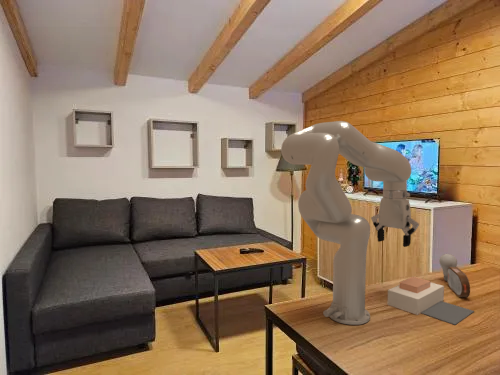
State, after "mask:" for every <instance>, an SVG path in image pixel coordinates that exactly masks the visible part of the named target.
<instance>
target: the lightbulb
mask: <svg viewBox="0 0 500 375" xmlns="http://www.w3.org/2000/svg"><path fill="white" fill-rule="evenodd" d="M438 260H439V261H438V263H439V264H440V267H441V268H442V275H443V280H444V281H445V282H446V283H448V281H447V269H448V268H449V267H458V266H457V265H458V260H457V258H456V256H454V255H453V254H450V253H444V254H442V255H441V256H440V257H439V259H438Z"/></svg>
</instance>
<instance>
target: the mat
mask: <svg viewBox="0 0 500 375" xmlns="http://www.w3.org/2000/svg"><path fill="white" fill-rule="evenodd" d="M474 312H475V310H471V309H469V308H466V307H461V306H459V305H455V304H452V303H449V302H446V301H444V300H443V301H440V302H438V303H436V304H435V305H433V306H431V307H429V308H428V309H426V310H424V311H422V312H421V313H420V314H422V315H425V316H428V317H430V318H433V319H436V320H440V321H442V322H445V323H447V324H451V325H453V326H456V325H457V324H458V325H459V323H461V322H462V321H464V320H465V319H466V318H468V317H469V316H471V315H472V314H474Z"/></svg>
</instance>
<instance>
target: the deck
mask: <svg viewBox="0 0 500 375" xmlns="http://www.w3.org/2000/svg"><path fill="white" fill-rule="evenodd" d="M399 285H400V284H398V285H396V286H394V287H392V288H388V289H387V305H388V306H391V307H393V308H396V309H399V310H402V311H405V312H407V313H410V314H413V315H416V316H418V315H420V314H421V312H422V311H424V310H426V309H428V308H429V307H431V306H433V305H435V304H436V303H438V302H440V301H443V302H444V295H445V294H444V292H445V285H441V284H439V283H435V282H431V283H430V287H429V288H427V289H425V290H423V291H421V292H419V293H414V292H411V291H408V290H404V289H401V288H399Z"/></svg>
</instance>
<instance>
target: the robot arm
mask: <svg viewBox="0 0 500 375" xmlns="http://www.w3.org/2000/svg"><path fill="white" fill-rule="evenodd" d="M280 149H281V150H280V152H281V156H282V158H283V159H284V161H285V162H287V163H289V164H290V165H301V166H302V165H307V166H308V165H309V166H310V168H309V170H308V171H309V172H308V174H307V177H306V180H305V190H304V191H303V192H302V193H301V194H300V195H299V197H298V202H297V204H298V206H297V207H298V211H299V214H300V216H301V217H302V219H303V221H304V222H305V223H306V224H307V226H308V227H309V229H310V230H311V232H313V234H314V235H315V236H316V237H317V238H318V239H320V240H322V241H326V242H330V243H335V244H339V248H338V249H337V251H336V252H335V253H334V256H333V260H332V261H333V262H332V267H333V268H332V270H333V271H332V273H333V275H332V276H333V277H332V283H333V284H332V285H333V286H332V301H331V302H330V306H329V307H328V308H327V309H325V310H324V311H323V312H322V313H323V316H324V317H326V318H330V319H331V320H332V321H335V322H337V323H340V324H345V325H351V326H357V325H358V326H359V325H364V324H367V323H368V322H369V321H370V320H371V314H370V312H369V311H368V310H367V309H366V281H367V280H366V279H367V278H366V277H367V271H366V269H367V267H366V266H367V265H366V264H367V252H368V251H367V250H368V245H369V239H370V236H371V225H370V222H369V221H368V220H367V219H366V218H365V217H363V216H361V215H357V214H354V213H352V211H353V210H352V204H351V201H350V200H349V198H348V197H347V195H346V193H345V192H344V190H343V188H342V187H341V185H340V184H339V182H338V180H337V178H336V170H337V169H336V167H337V163H338V158H339V156H342V157H343V158H344V159H345V160H347V161H348V162H349V163H351V164H352V165H354V166H358V167H362V168H364V174H365V177H366V178H367V179H368V180H370V181H372V182H382V188H383V189H382V198H381V199H380V203H379V208H378V213H377V214H376V215H373V216H371V217H370V219H371V221H372V225H373V226H374V227H375V230H376V232H377V233H376V235H377V236H376V238H377V242H379V243H380V242H383V241H385V229H384V228H385V227H386V228H393V229H399V230H401V231H402V232H403V237H402V246H403V247H404V248H406V247H410V245H411V241H412V240H411V238H412V235H413V234H414V233H415V232H416V231H417V229H418V228H419V227H420V223H419V222H418V221H417V220H415V219H413V218H412V213H411V212H412V211H411V204H410V203H411V202H410V200H409V199H407V198H409V197H411V193H410V192H408V190H407V185H408V184H407V183H408V180H409V179H410V177H411V176H412V166H411V163H410V161H409V160H408V159H407V158H406V156H404V154H402V153H401V152H399V151H398V150H396V149H393V148H391V147H389V146H385V145H383V144H380V143H378V142H373V141H371V140H369V138H367V137H366V136H365V135H364V134H363V133H362V132H360V131H359V129H357V128H356V127H355V126H354V125H352V124H351V123H350V122H348V121H344V120H339V121H338V120H336V121H327V122H320V123H315V124H312V125H311V126H308V127H305V128H303V129H301V130H298V131H296V132H293V133H291V134H289V135H288V136H287V137H286V138H284V140H283V142H282V144H281V148H280Z"/></svg>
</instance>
